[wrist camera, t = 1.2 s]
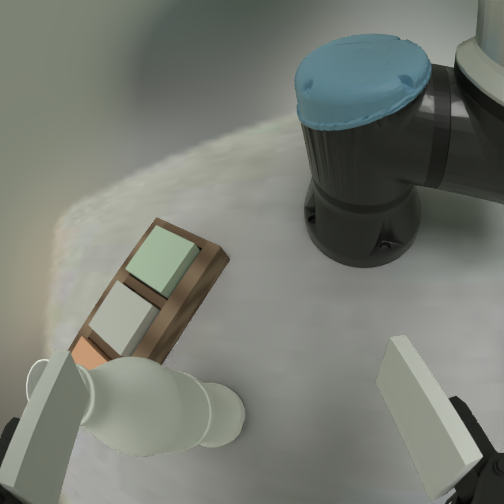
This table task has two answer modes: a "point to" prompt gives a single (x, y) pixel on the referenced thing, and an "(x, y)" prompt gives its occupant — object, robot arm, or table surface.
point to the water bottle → (153, 407)
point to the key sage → (163, 260)
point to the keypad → (171, 310)
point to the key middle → (123, 319)
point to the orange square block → (89, 354)
